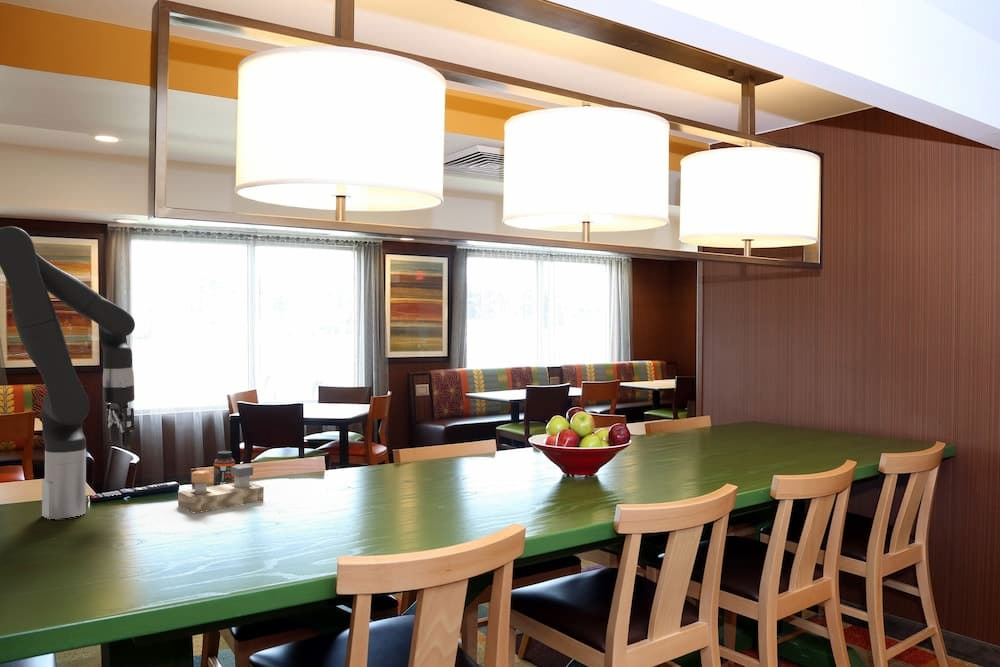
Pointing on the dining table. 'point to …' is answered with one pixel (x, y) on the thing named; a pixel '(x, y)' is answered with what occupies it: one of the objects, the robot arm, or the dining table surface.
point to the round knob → (200, 481)
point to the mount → (220, 497)
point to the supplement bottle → (223, 468)
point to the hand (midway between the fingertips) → (120, 443)
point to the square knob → (241, 475)
